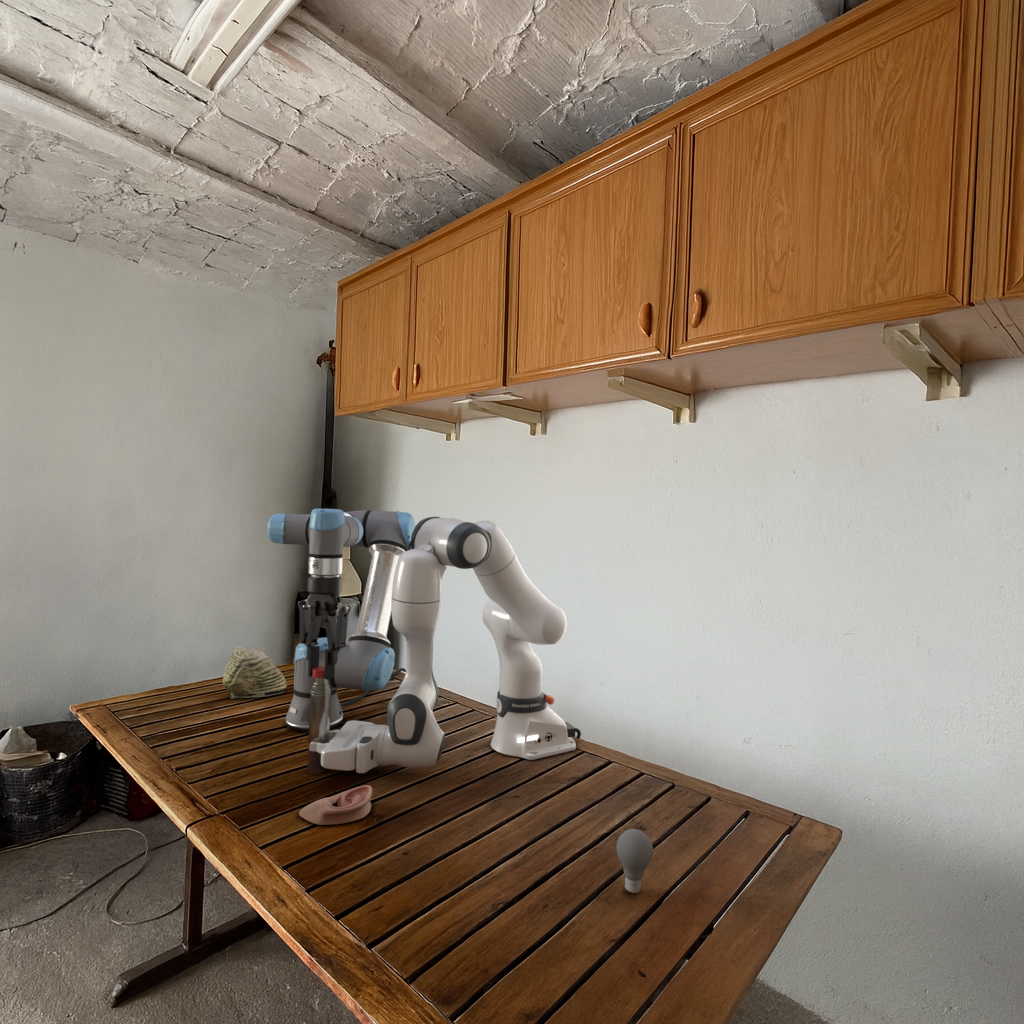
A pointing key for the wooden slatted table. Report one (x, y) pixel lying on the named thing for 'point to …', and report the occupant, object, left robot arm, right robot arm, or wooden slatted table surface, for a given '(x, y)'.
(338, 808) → the anatomical model
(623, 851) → the light bulb
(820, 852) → the wooden slatted table surface
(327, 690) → the bottle
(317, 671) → the cap
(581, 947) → the wooden slatted table surface
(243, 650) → the fossil
